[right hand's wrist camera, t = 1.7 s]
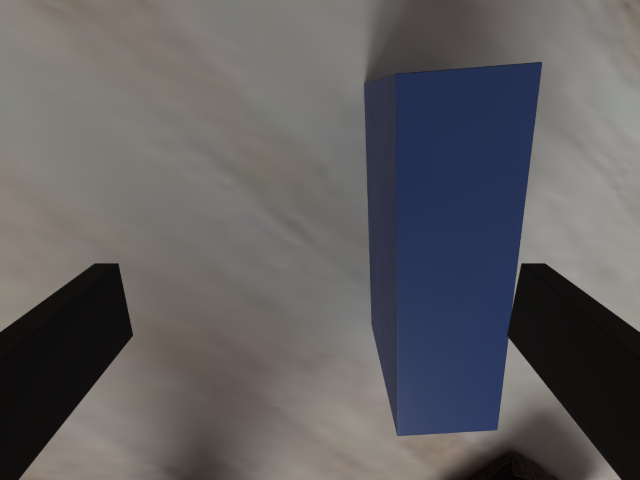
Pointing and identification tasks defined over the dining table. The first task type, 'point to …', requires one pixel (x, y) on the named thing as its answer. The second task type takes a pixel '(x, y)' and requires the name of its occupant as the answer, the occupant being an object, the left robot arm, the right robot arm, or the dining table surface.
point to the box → (446, 236)
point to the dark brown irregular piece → (514, 470)
